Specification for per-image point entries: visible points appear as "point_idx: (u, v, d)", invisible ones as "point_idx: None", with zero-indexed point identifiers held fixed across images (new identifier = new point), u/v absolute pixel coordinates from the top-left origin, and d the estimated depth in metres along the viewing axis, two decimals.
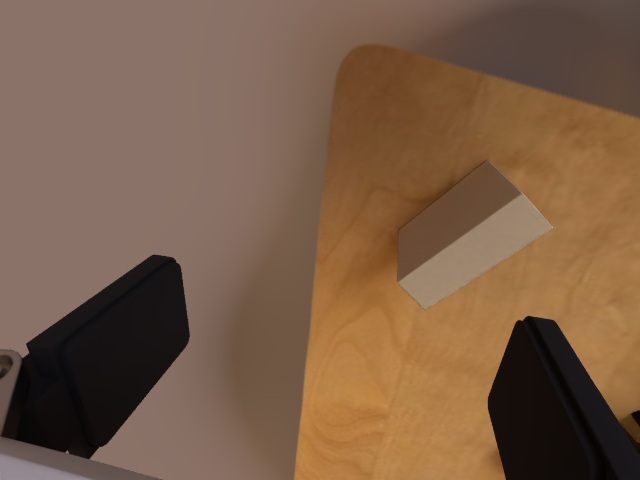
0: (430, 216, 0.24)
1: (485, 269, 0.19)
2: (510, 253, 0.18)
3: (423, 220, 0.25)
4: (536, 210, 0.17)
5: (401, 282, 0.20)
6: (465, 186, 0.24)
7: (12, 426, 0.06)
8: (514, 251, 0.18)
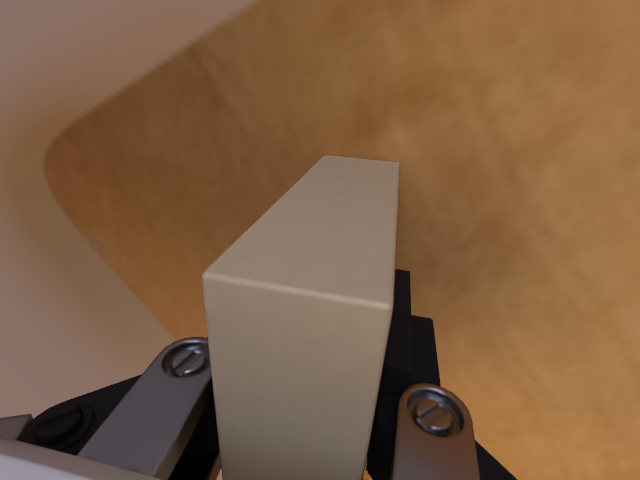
0: None
1: None
2: (358, 434, 0.05)
3: None
4: (284, 292, 0.04)
5: None
6: None
7: (188, 429, 0.06)
8: (363, 424, 0.05)
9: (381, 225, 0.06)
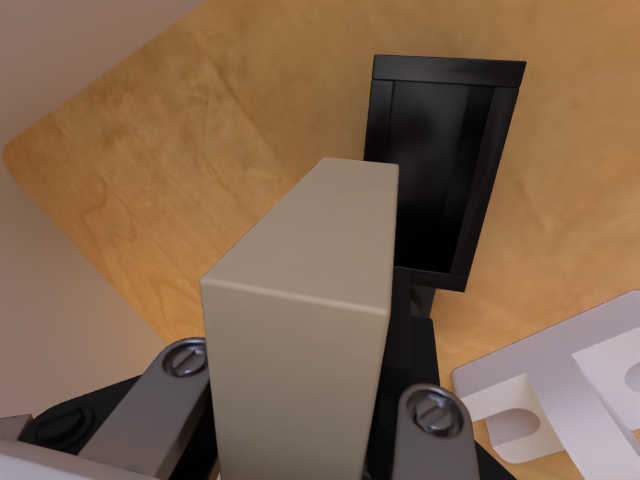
0: None
1: None
2: (357, 438, 0.05)
3: None
4: (282, 297, 0.04)
5: None
6: None
7: (188, 429, 0.06)
8: (361, 429, 0.05)
9: (379, 229, 0.06)
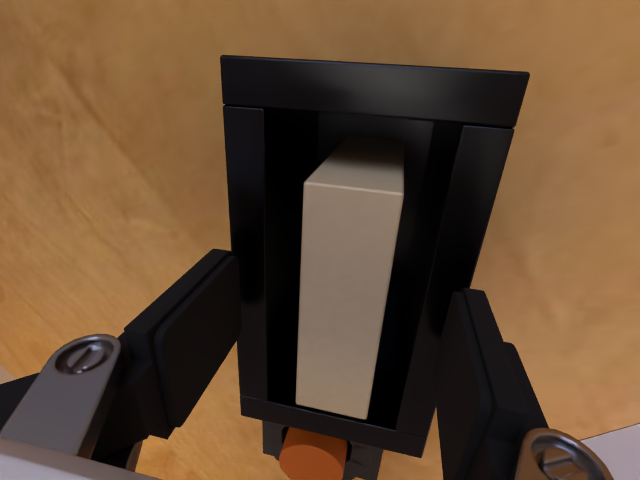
0: None
1: (378, 319, 0.10)
2: (384, 275, 0.09)
3: None
4: (348, 189, 0.09)
5: (299, 401, 0.12)
6: None
7: (100, 415, 0.06)
8: (386, 268, 0.09)
9: (394, 168, 0.11)
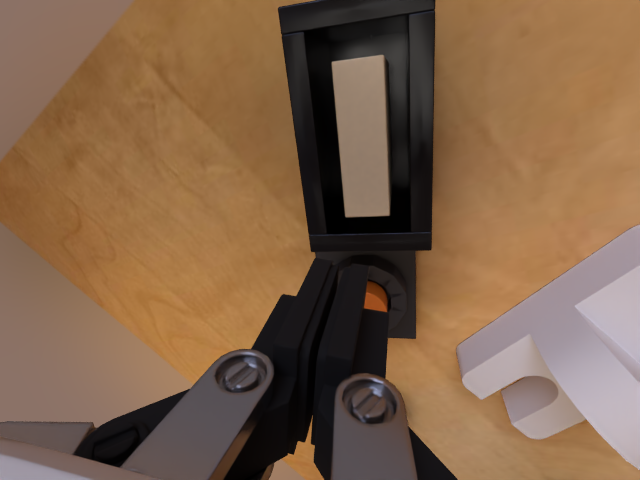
0: None
1: (384, 138, 0.18)
2: (382, 107, 0.17)
3: None
4: (355, 59, 0.17)
5: (347, 213, 0.20)
6: None
7: (233, 452, 0.05)
8: (382, 102, 0.17)
9: None
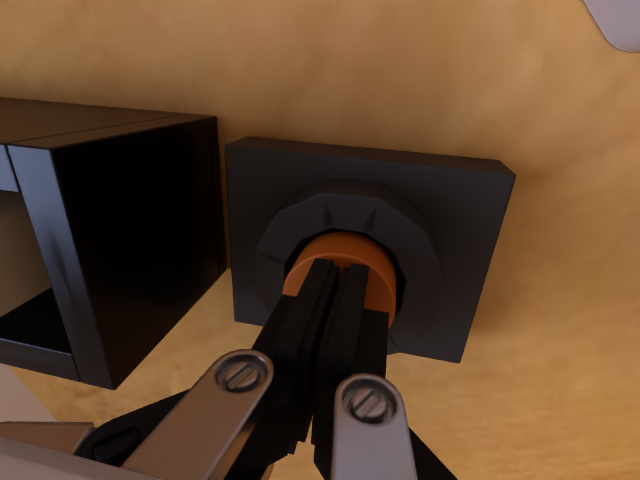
0: None
1: None
2: None
3: None
4: None
5: None
6: None
7: (233, 452, 0.05)
8: None
9: None
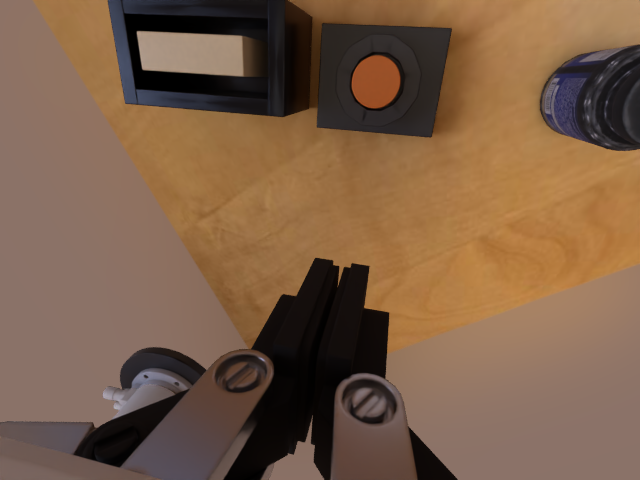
0: None
1: (185, 35, 0.24)
2: (165, 34, 0.24)
3: None
4: (140, 52, 0.25)
5: (240, 73, 0.24)
6: None
7: (233, 452, 0.05)
8: (163, 34, 0.24)
9: None
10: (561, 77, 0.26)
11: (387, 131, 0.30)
